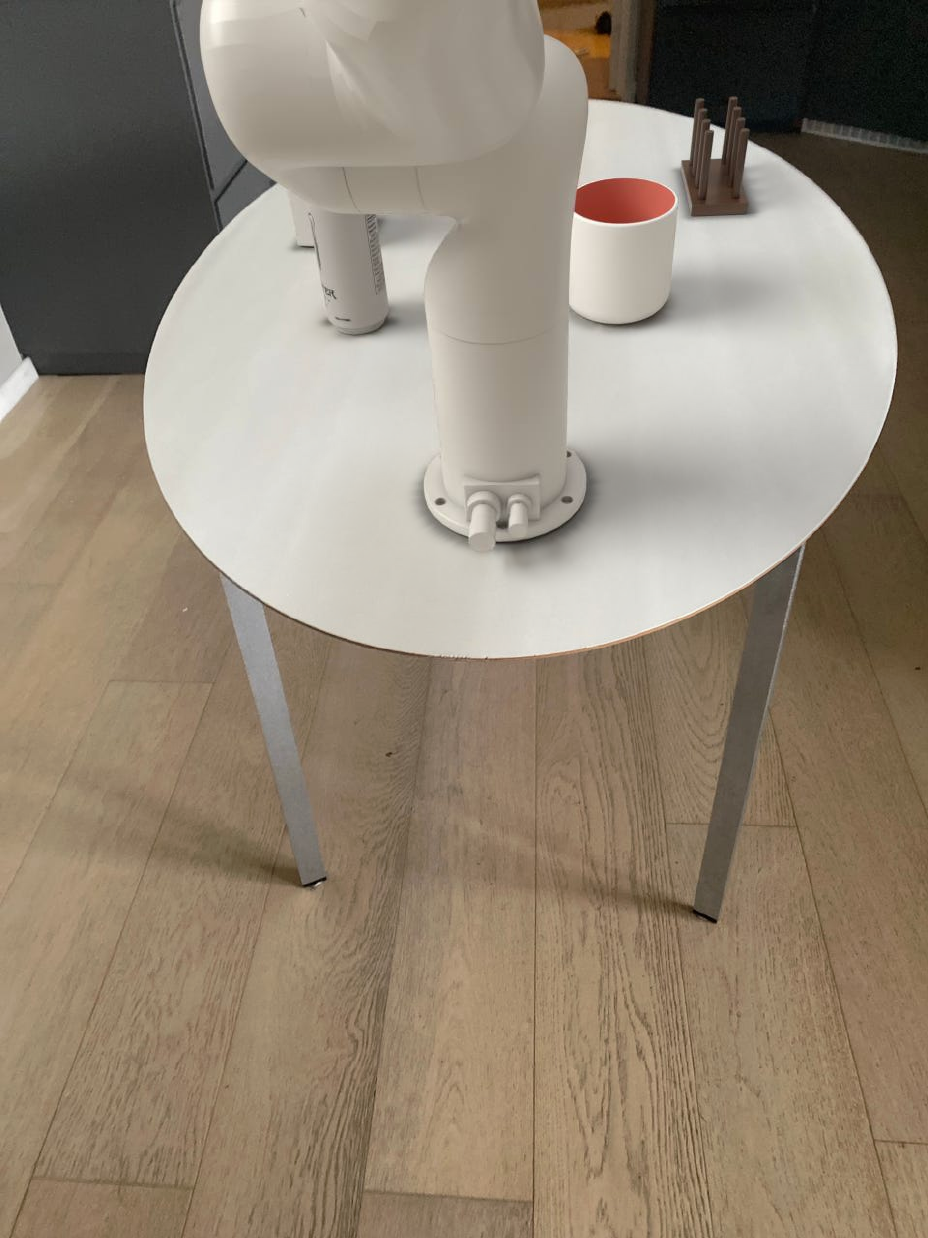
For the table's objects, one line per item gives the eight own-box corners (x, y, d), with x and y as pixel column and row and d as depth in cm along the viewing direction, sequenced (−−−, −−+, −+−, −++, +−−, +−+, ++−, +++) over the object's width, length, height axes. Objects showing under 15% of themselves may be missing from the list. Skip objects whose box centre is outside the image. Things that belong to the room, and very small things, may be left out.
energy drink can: (329, 309, 95) (300, 154, 84) (388, 302, 95) (367, 146, 84) (329, 340, 91) (298, 182, 80) (391, 333, 91) (369, 174, 80)
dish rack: (747, 213, 103) (759, 134, 97) (690, 215, 104) (699, 137, 98) (732, 168, 111) (742, 92, 105) (680, 170, 112) (687, 94, 106)
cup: (548, 319, 91) (548, 216, 84) (585, 270, 97) (588, 170, 90) (649, 337, 88) (658, 232, 80) (681, 286, 94) (692, 183, 86)
